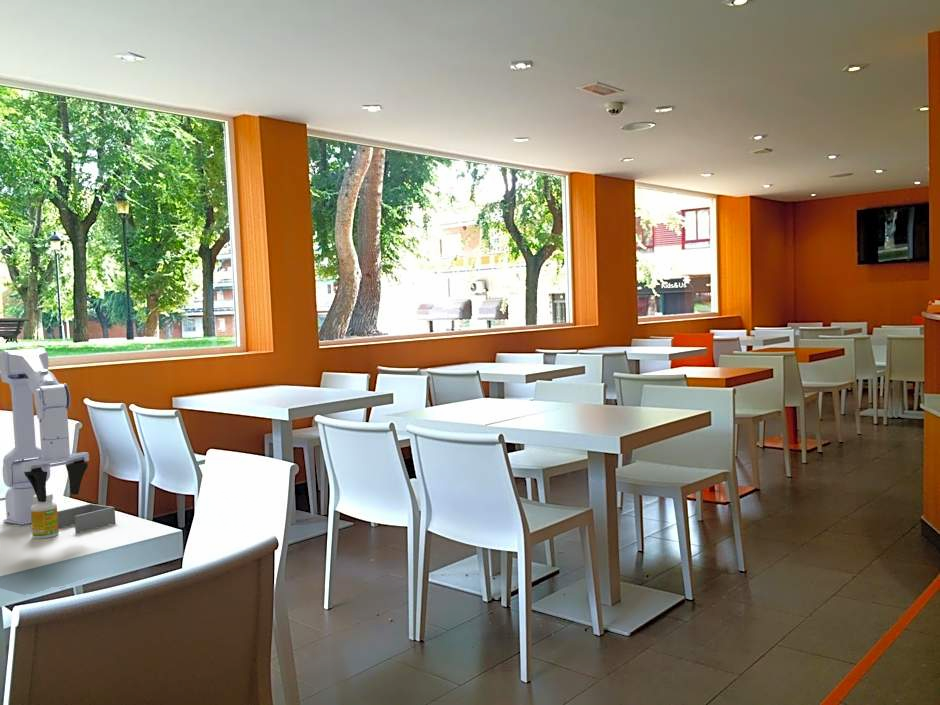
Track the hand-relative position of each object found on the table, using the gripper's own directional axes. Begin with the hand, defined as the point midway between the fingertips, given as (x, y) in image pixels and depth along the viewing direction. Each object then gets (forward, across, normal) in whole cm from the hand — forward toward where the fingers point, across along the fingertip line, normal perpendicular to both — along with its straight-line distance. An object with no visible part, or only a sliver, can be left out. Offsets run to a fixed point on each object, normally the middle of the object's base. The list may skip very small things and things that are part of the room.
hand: (58, 497), depth 181 cm
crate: (+10, +10, +8) cm, 16 cm away
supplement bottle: (+10, +1, +8) cm, 13 cm away
